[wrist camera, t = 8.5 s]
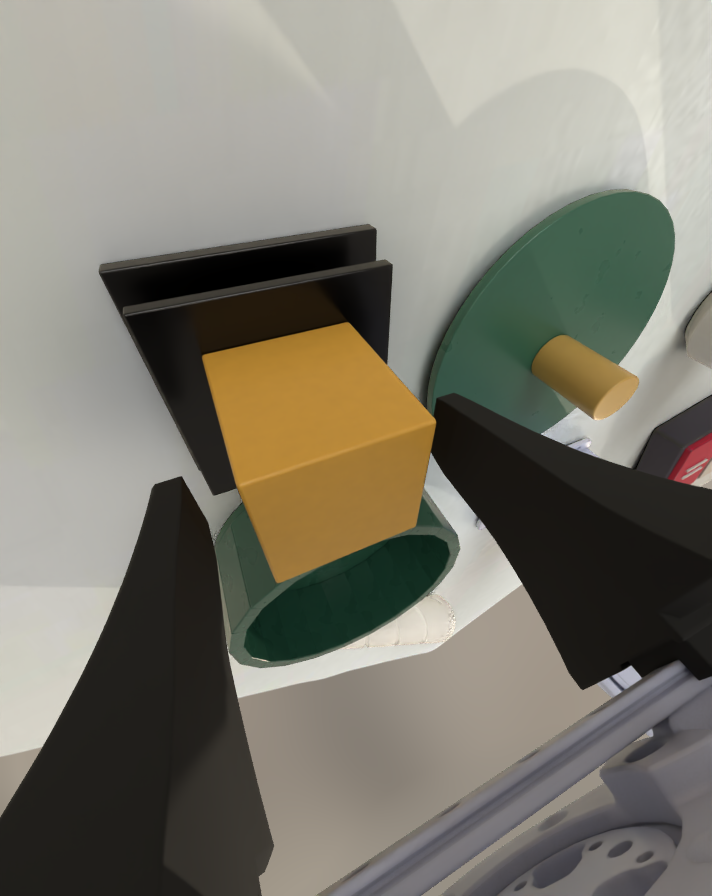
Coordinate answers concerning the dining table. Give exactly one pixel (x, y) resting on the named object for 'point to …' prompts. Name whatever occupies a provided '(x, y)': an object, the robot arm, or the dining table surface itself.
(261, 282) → the stand
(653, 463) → the calculator
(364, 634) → the tin
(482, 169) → the dining table surface
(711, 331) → the can
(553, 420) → the tin lid
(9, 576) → the dining table surface
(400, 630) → the unicorn horn
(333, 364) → the block
